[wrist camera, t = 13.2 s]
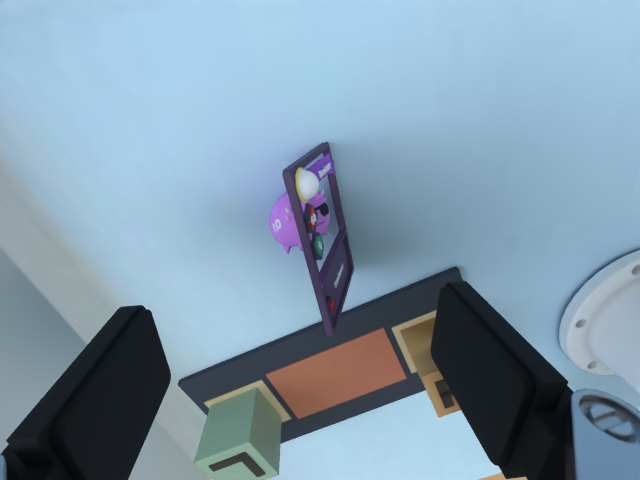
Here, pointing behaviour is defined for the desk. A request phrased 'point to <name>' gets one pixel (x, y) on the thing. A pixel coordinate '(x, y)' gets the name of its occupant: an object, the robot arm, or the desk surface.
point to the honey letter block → (429, 367)
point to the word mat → (330, 363)
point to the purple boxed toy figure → (315, 231)
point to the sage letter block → (241, 439)
